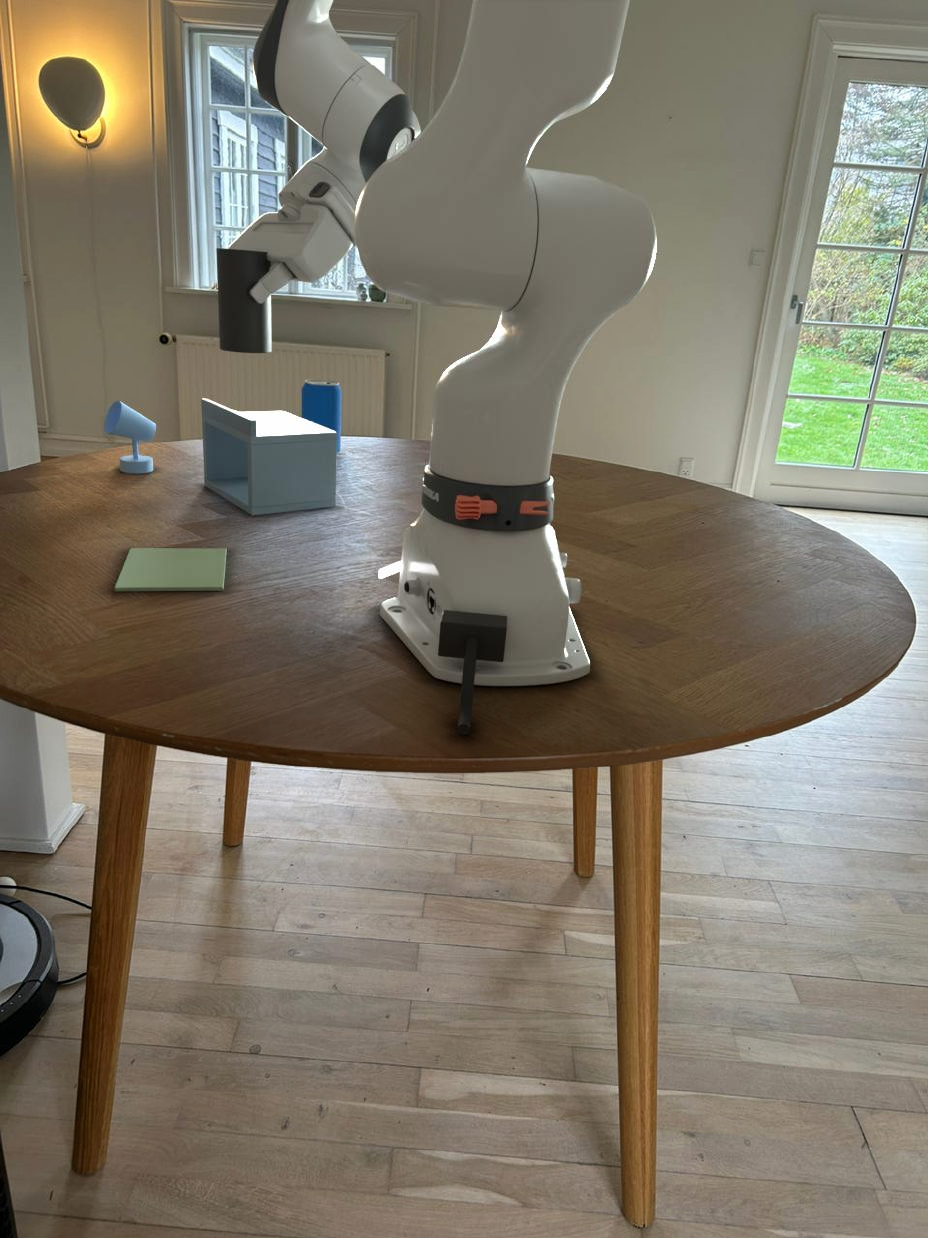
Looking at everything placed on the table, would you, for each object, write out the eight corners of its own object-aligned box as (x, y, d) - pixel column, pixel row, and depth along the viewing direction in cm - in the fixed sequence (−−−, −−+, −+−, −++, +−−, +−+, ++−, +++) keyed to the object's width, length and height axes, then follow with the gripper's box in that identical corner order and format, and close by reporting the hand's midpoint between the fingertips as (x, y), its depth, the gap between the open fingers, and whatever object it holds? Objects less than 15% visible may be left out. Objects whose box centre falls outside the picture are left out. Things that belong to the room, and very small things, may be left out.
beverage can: (344, 452, 146) (345, 381, 142) (335, 460, 140) (336, 385, 136) (307, 449, 146) (307, 377, 142) (296, 456, 141) (296, 381, 136)
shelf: (335, 506, 115) (337, 416, 110) (252, 515, 108) (250, 420, 103) (283, 478, 126) (282, 396, 122) (204, 485, 119) (200, 398, 115)
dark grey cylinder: (272, 354, 99) (271, 251, 95) (218, 351, 98) (215, 247, 94) (271, 349, 105) (270, 252, 101) (220, 346, 103) (217, 247, 99)
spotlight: (115, 475, 120) (163, 471, 125) (109, 403, 117) (159, 402, 121) (103, 468, 124) (150, 464, 128) (97, 398, 120) (146, 396, 124)
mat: (223, 590, 84) (223, 586, 84) (114, 591, 81) (114, 587, 81) (226, 551, 94) (226, 548, 94) (130, 551, 92) (130, 547, 92)
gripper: (261, 191, 106) (187, 270, 104) (342, 186, 91) (258, 279, 89) (293, 233, 110) (223, 310, 108) (376, 236, 96) (296, 325, 94)
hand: (239, 296), depth 99 cm, fingers closed on dark grey cylinder, 6 cm apart
